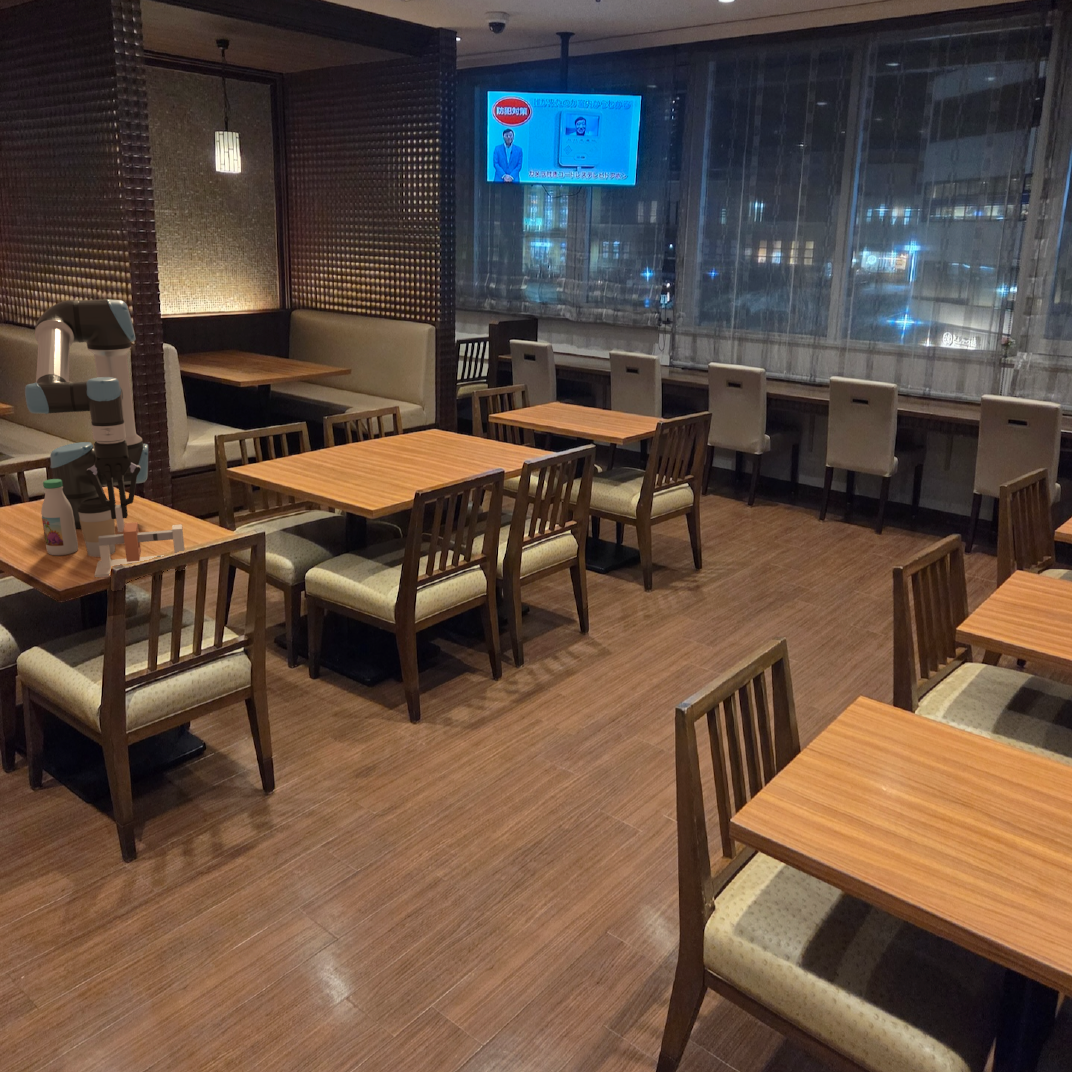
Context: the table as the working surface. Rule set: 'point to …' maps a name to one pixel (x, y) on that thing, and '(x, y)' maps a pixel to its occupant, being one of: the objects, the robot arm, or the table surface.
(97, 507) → the coffee cup
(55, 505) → the milk bottle
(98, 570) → the rail
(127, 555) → the notched orange block
